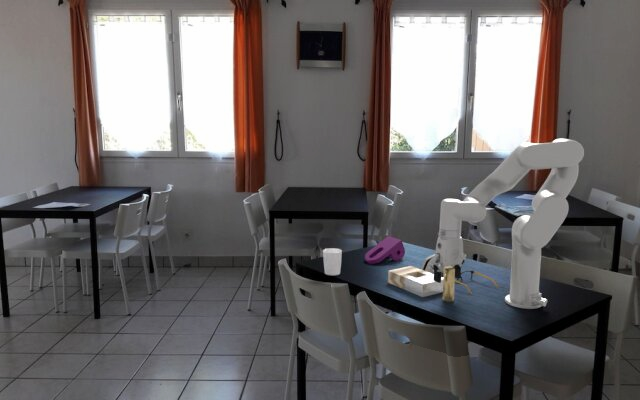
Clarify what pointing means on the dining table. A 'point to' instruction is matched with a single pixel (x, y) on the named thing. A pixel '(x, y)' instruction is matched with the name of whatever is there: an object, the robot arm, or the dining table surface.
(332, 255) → the white cup
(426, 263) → the white black arched block
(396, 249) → the mounting bracket
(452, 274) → the brass pin
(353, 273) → the dining table surface
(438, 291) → the gray notched block
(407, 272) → the notched wooden block
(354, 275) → the dining table surface
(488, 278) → the eyeglasses
